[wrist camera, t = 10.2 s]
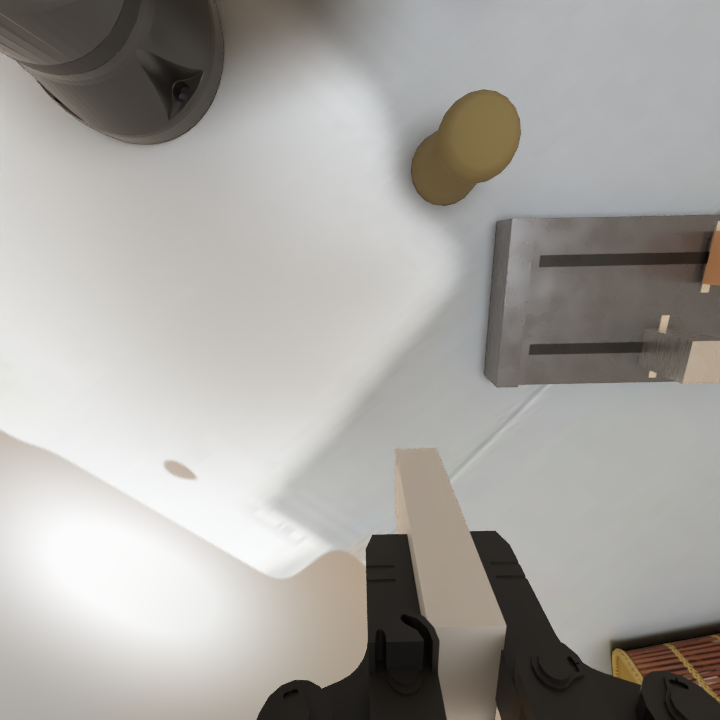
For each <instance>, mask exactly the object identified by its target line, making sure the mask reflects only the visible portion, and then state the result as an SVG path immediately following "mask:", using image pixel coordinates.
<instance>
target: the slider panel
mask: <svg viewBox="0 0 720 720" xmlns="http://www.w3.org/2000/svg"><path fill="white" fill-rule="evenodd" d="M715 231H720V215H686V216H640V217H593V218H547V219H536V218H523V219H509V220H504V221H499V222H497V224H496V236H495V249H494V261H493V273H492V285H491V297H490V309H489V322H488V334H487V346H486V358H485V370H484V375H485V376H486V377H487V378H488V379H489V380H490V381H491V382H492V383H493V384H494V385H495V386H496V387H518V385H526V384H575V383H623V382H671V381H676V382H679V383H681V384H705V383H719V381H720V286H718V285H708V284H702V282H703V278H704V274H705V270H706V266H707V262H708V258H709V254H710V250H711V246H712V242H713V238H714V234H715Z"/></svg>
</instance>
